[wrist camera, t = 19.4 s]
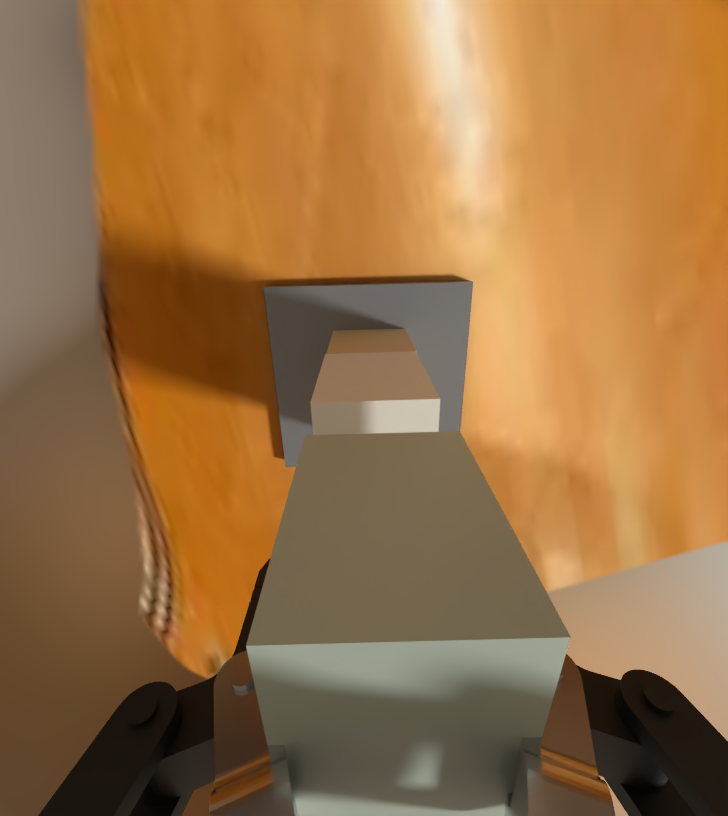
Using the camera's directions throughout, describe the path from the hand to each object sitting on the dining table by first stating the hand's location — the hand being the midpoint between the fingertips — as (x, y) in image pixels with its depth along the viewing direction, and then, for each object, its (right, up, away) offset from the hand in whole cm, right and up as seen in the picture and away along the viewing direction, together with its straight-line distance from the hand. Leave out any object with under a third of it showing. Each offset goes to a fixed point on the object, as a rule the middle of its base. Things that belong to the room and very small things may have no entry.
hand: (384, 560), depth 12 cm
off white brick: (0, +4, +10) cm, 11 cm away
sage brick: (0, 0, +1) cm, 1 cm away
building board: (0, +7, +17) cm, 18 cm away
